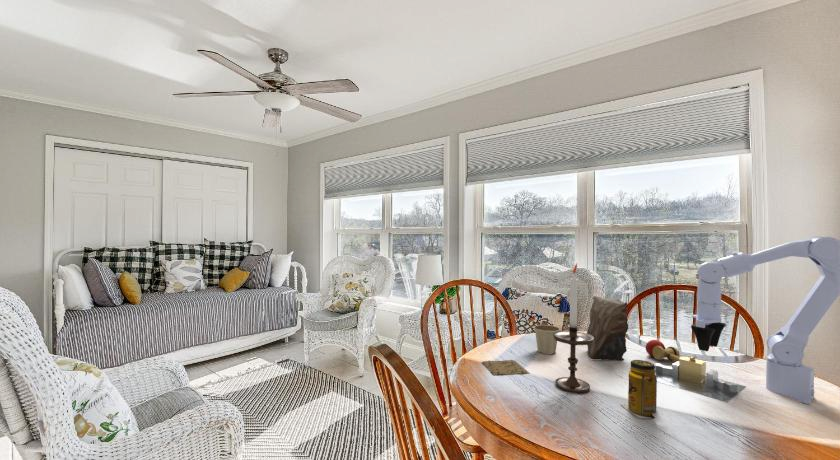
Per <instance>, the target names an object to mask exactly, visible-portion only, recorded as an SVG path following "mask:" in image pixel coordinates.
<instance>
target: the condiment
mask: <svg viewBox="0 0 840 460" xmlns="http://www.w3.org/2000/svg"><path fill="white" fill-rule="evenodd" d="M629 369H630V370H629V371H628V388H627V390H628V391H627V394H628V396H627V397H628V398H627V399H628V401H627V402H628V403H627V404H621V407H623V408H624V409H625V410H627V411H628V412H629V413H631V414H632V415H634V416H635V417H636V418H638V419H646V420H648V419H656V417H655V416H654V414H655V413H656V412H657V397H658V396H657V391H658V390H657V388H658V385H657V384H658V382H657V377H656V375H655V363H653V362H650V361H648V360H643V359H633V360H631V361H630V368H629Z"/></svg>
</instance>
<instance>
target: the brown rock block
mask: <svg viewBox="0 0 840 460" xmlns="http://www.w3.org/2000/svg"><path fill="white" fill-rule="evenodd" d="M592 299H593V302H592V304H591V307H590V311H589V323H588V326H587V331H586V333H587V334H590V335H592V336H593V337H594V343H593V344H590V345H586V346H587V353H589V354H588V358H589V359H590V358H591V359H601V360H600V361H619V360H621V361H625V358H623V356H624V354H626V352H627V344H626V342H627V340H626V335H627V333H628V329H629V324H628V321H629V320H628V319H629V318H628V311H627V310H628V309H627V308H628V302H623V301H621V300H620V299H616V298H615V299H610V298H604V297H601V296H596V295H595V296H594V295H593V297H592ZM591 359H590V360H591Z"/></svg>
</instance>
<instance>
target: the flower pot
mask: <svg viewBox="0 0 840 460" xmlns="http://www.w3.org/2000/svg"><path fill="white" fill-rule="evenodd" d="M532 327H533V329H534V334H535V340H536V347H537V352H538V353H542V354H544V353H545V355H553V354H555V353H556V351H557V345H558V341H556V340H555V339H553V333H554V332H556V331H562V329H561V328H560V327H558V326H555V325H550V324H537V325H533V326H532Z"/></svg>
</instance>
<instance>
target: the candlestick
mask: <svg viewBox="0 0 840 460" xmlns="http://www.w3.org/2000/svg"><path fill="white" fill-rule="evenodd" d="M577 268H578V263H576V264H575V265H574V268H573V270H572V273H573V274H572V277H571V278H570V281H569V283H570V285H569V287H570V291H569V292H570V293H569V294H570V295H569V300H570V301H569V324H565V327H566V328H569V330H560V331H556V332H554V333H553V339H555V340H556V341H557V342H559V343H562V344H567V345H570V351H569V352H570V354H569V355H570V356H569V357H567V362H568V364H569V366H568V367H567V369H568V370H569V376H566V377H564V376H563V377H558V378H557V379H555V387H556V388H557V389H559V390H561V391H564V392H567V393H570V394H571V393H572V394H585V393H589V392H590V390H591V385H590V384H589V383H588V382H587V381H585V380H582V379H579V378H577V377H576V372H577V371H578V367H576V365H577V364H578V363H579V359H578V358H577V357H576V350H577V349H576V346H587V345H590V344H593V343H594V337H593V336H592V335H590V334H587V332H583V331H578V329H581V328H582V327H581V326H580V325H578V285H579V284H578V280H579V279H578V278H577V276H576V271H577Z"/></svg>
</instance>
